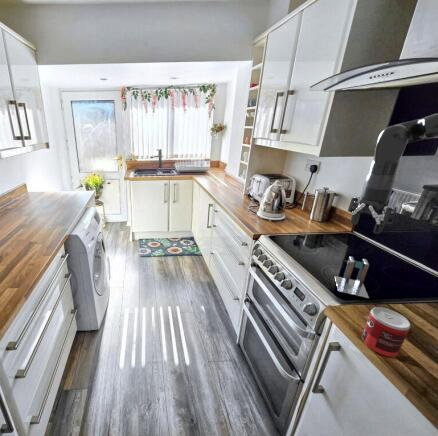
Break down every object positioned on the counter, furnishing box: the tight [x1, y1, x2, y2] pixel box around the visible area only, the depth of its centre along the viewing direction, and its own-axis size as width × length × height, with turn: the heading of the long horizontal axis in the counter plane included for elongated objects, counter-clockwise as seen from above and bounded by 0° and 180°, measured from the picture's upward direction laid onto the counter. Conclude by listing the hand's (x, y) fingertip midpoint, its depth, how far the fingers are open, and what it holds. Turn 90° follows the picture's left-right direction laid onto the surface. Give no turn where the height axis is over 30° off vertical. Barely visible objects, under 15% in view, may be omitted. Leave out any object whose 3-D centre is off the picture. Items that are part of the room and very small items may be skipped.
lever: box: [341, 259, 363, 269], centre depth 94 cm, size 12×5×2 cm, turn 149°
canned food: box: [361, 306, 411, 359], centre depth 67 cm, size 8×8×11 cm
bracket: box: [334, 256, 370, 299], centre depth 91 cm, size 11×9×13 cm
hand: (364, 228), depth 89 cm, fingers open, 8 cm apart
